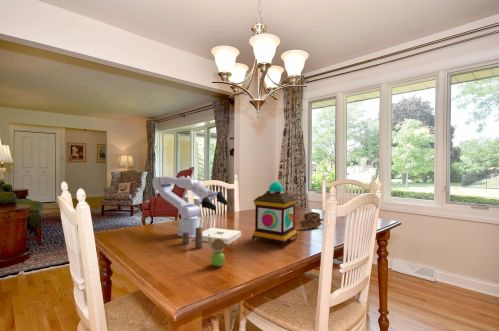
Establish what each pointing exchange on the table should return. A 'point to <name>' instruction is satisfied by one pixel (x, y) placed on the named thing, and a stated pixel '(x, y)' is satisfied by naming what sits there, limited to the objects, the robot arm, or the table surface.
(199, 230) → the tall dowel
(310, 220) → the wooden carving
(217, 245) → the snail figurine
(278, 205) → the decorative lantern
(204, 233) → the hole board
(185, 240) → the short dowel
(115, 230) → the table surface
